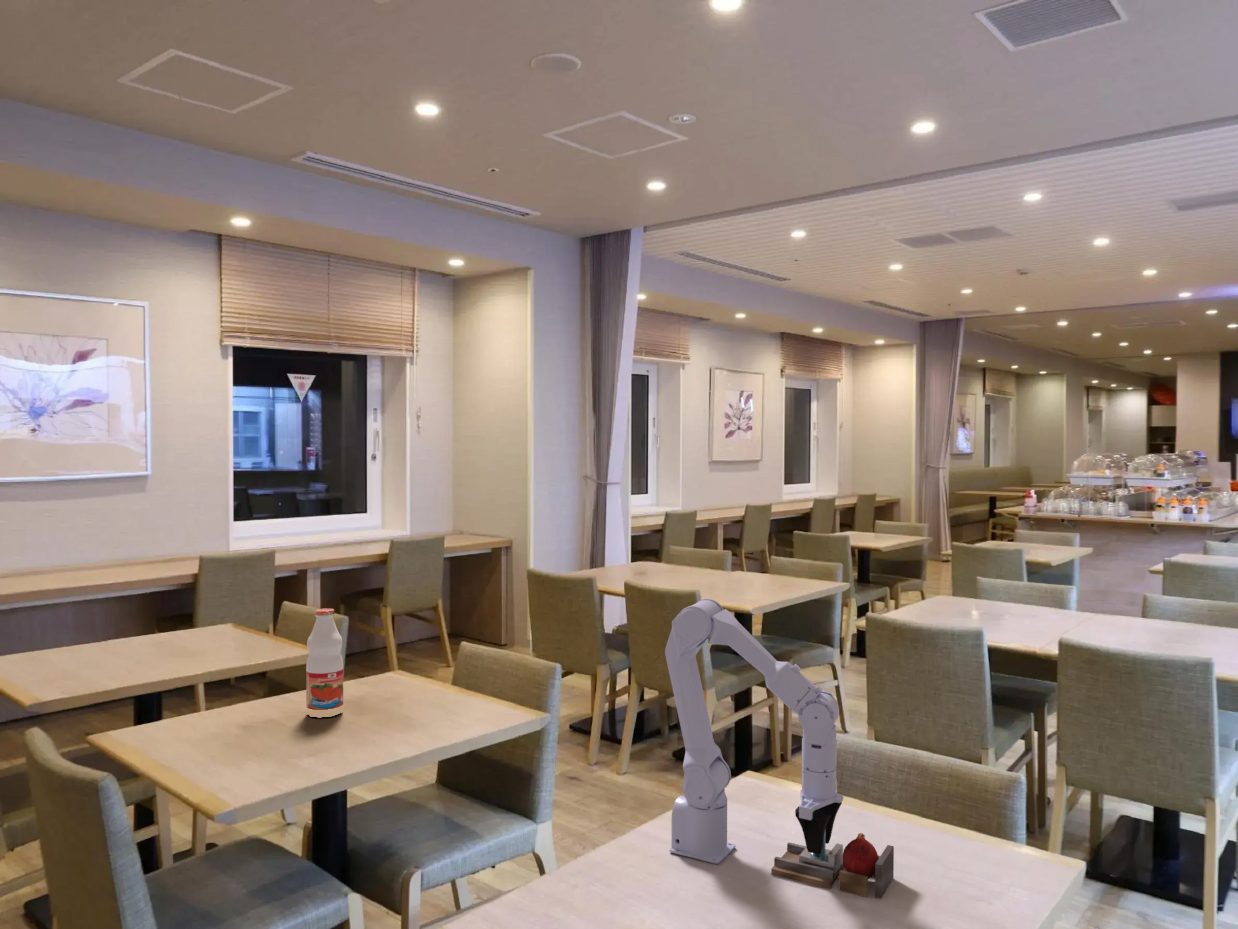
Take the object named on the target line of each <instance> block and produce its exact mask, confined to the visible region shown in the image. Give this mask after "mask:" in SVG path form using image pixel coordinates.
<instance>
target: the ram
mask: <svg viewBox="0 0 1238 929" xmlns="http://www.w3.org/2000/svg"><path fill="white" fill-rule="evenodd" d="M825 842H826V829H825V833H824V839H823V846H822V851H821V853H820V854H815V853H811V852H808V850H807V847H806V848H805V849H804V850H803V852H802V853H801V854H800V855H799V862H801V863H805V864H809V865H813V866H818V867H822V868H826V869H830V870H834V875H835V873H836V872H837V870H838V869H839V868H840V866H841V865H842V864H843V852H844V844H843V843H836V844H835V845H834V846H833V848H831V849H829V848H826V843H825Z"/></svg>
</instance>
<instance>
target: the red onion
mask: <svg viewBox="0 0 1238 929" xmlns="http://www.w3.org/2000/svg"><path fill="white" fill-rule="evenodd" d="M865 836H866V835H865V834H864V833H863V832H859V833H858V834H857V837H856V838H855V839H852V840H851V841H849V843H847V845H845V847H844V848H843V865H844V867H845V869H844V871H847V872H851V873H855V874H859V875H863V876H868V880H869V879H871V878H872V877H873V876H875V875H874V874H875V864H876V862H877V861H878V859H879V858H878V856H879V854H878V852H877V849H876V848H875V846H874V845H873V844H872V843H871V842H870V841H869V840H867V839H866V838H865Z"/></svg>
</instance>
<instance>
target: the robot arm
mask: <svg viewBox="0 0 1238 929" xmlns="http://www.w3.org/2000/svg"><path fill="white" fill-rule="evenodd" d="M709 638H710V640H709V641H708V644H709V645H719V646H729V647H730V648H731V649H732V650H733V651H735V653H737V654H738V655H739V656H740V657H742V658H743V659H744V660H745V661H746V662H748V663H749V664H750V665H751V666H753V668H755V669H756V670H757V671H758V672H759V673H761V674H762V675H763V676H764V680H765V686H766V687H765V688H767V689H768V690H769V691H770V692H771V693H773V694H774V696H776V697H777V698H778V700H780V701H781V702H782V703H783V704H784V705H785V706H786V707H787V708H788V709H789V710H791V711H792V712H793V713H794V714H796V715H797V717H798V718H797V719H798V722H799V724H800V726H801V728H802V738H801V789H800V805H799V806H797V807H796V809H795V812H794V814H795V817H796V819H797V821H798V822H799V825H800V827H801V829H802V833H803V837H804V842H805V846H806V847H807V850H808V852H811V853H815V854H820V853H821V851H822V846H823V839H824V833H825V829H826V842H825V844H829V843H830V841H831V837H832V832H833V829H834V823H835V819H836V817H837V814H838V811H839V810H840V807H841V806H842V803H843V801H844V795H843V794H839V793H838V780H837V764H838V763H837V760H838V758H837V757H838V756H837V750H838V749H837V748H838V747H837V746H838V744H837V743H838V742H837V725H836V724H835V723H836V721H837V720H838V717H839V714H840V706H839V704H838V701H837V700H836V698H835V697H834V696H833V693H831V692H828V691H825V690H823V688H822V687H820V686H819V685H817V686H816V685H814V683H812V682H811V681H810V680H809V679H808V678H807V677H806V676H804V674H803V673H801V672H800V671H801V669H802V668H801V667H800V666H799V665H798V664H796V663H795V664H794V665H792V663H790V661H780V660H779V661H778V660H777V659H776V658H775V657H774V656H773V655H772V654H771V652H769V651H768V650H767V649H766V648H765V647H764V646H763V645H762V644H761V643H760V642H759V641H758V640H757V639H756V638H755V637H754V636H753V635H752V634H751V633H750V632H749V631H748V630H747V629H746V627H744V626H743V625H742V624H741V623H740V622H739V621H738V619H737V618H736V617H735V616H734V615H733V614H732V613H731V611H729V610H728V609H726V608H725V609H724V608H723V606H722V605H721V604H720V602H718V601H716V600H715V599H712V598H702V599H700V600H698V601H697V602H696V603H694V604H692V605H689V606H686V607H684V608H683V609H681V611H680V612H679V613H678V614H677V615H676V616H675V618H673V619H672V621H671V630H670V632H669V636H668V639H667V642H666V646H665V648H664V656H665V660H666V664H667V668H668V674H669V678H670V684H671V687H672V693H673V698H674V701H675V702H674V703H675V707H676V710H677V711H676V712H677V716H678V721H679V726H680V731H681V735H682V738H683V744H684V748H685V753H684V758H683V761H682V762H683V763H682V769H683V774H684V775H683V782H682V787H681V788H682V794H683V795H679V796H678V797H677V798H676V799H675V801H674V802H673V803H674V804H673V806H672V811H671V840H670V841H671V842H670V843H671V847H670V848H669V852H670V853H671V854H676V855H679V856H684V857H687V858H692V859H695V860H699V861H703V862H707V863H711V864H715V865H716V864H717V865H718V864H720V863H721V862H722V861H723V860H724V859H725V858H726V857H727V856H728V855H729V854H730V853H731V852H732V851H734V849H735V848H736V844H735V843H731V842H728V797H727V795H726V792H725V791H726V788H727V787H728V785H729V784H730V782H731V776H732V774H731V772H732V771H731V769H730V767H729V765H728V763H727V762H726V761H725V760H724V758H723V755H722V750H721V748H720V747H719V746H718V745H717V744H716V743H715V740H714V735H713V731H712V725H711V722H710V717H709V712H708V708H707V702H706V698H705V693H704V689H703V684H702V679H701V676H700V675H701V674H700V670H699V666H698V661H697V655H698V653H699V651H700V650H701V648H702V647H703V645H704V644H705V643H706V641H707V640H708V639H709Z"/></svg>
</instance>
